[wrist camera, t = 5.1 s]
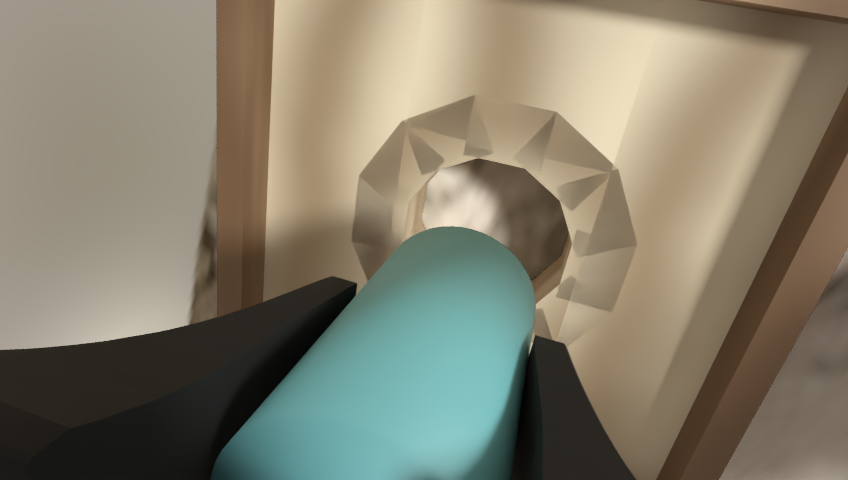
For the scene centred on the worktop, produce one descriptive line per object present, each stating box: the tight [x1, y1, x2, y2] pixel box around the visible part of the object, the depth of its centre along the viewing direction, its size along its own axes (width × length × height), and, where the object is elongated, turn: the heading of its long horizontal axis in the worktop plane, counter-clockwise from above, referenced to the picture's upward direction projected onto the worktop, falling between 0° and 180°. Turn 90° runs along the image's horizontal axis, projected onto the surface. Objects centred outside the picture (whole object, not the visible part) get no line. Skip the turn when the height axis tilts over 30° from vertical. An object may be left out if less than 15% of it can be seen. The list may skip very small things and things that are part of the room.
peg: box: [211, 226, 536, 480], centre depth 10 cm, size 4×4×7 cm
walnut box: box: [217, 0, 848, 480], centre depth 18 cm, size 18×18×4 cm
